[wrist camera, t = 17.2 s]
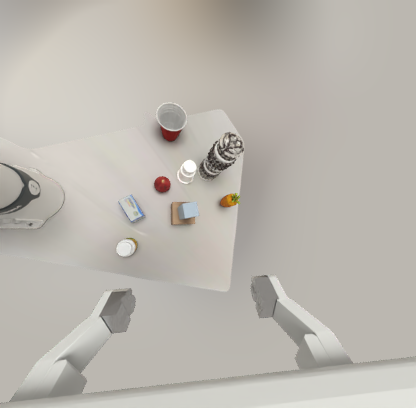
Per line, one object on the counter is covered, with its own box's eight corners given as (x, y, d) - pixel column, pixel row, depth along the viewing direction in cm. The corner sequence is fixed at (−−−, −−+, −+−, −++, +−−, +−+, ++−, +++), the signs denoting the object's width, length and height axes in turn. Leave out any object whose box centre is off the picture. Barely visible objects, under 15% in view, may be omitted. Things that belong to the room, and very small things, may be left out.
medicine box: (122, 204, 55) (116, 200, 47) (134, 198, 57) (131, 193, 48) (134, 223, 55) (130, 222, 47) (145, 216, 57) (144, 215, 49)
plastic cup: (152, 124, 63) (151, 102, 52) (177, 121, 67) (181, 100, 55) (160, 149, 62) (161, 132, 51) (185, 145, 66) (191, 128, 55)
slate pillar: (179, 219, 55) (185, 218, 46) (177, 207, 55) (182, 203, 46) (191, 217, 57) (199, 215, 47) (189, 205, 57) (196, 201, 48)
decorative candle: (194, 177, 65) (216, 149, 42) (200, 158, 68) (224, 122, 44) (213, 184, 68) (244, 162, 45) (218, 166, 70) (250, 135, 47)
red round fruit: (171, 192, 61) (173, 187, 54) (156, 195, 59) (156, 190, 52) (167, 178, 62) (169, 171, 54) (152, 181, 60) (152, 174, 52)
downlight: (196, 181, 65) (203, 172, 56) (182, 187, 63) (186, 179, 54) (188, 165, 66) (193, 153, 56) (173, 170, 63) (176, 159, 54)
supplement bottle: (136, 235, 55) (132, 237, 46) (139, 250, 55) (136, 255, 45) (119, 240, 53) (111, 242, 44) (122, 255, 53) (115, 261, 44)
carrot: (225, 209, 68) (244, 205, 54) (215, 208, 67) (231, 203, 52) (226, 198, 69) (244, 191, 55) (216, 197, 67) (232, 189, 53)
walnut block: (171, 224, 60) (173, 224, 54) (171, 204, 61) (172, 202, 55) (191, 223, 62) (195, 223, 57) (190, 204, 63) (194, 202, 58)
